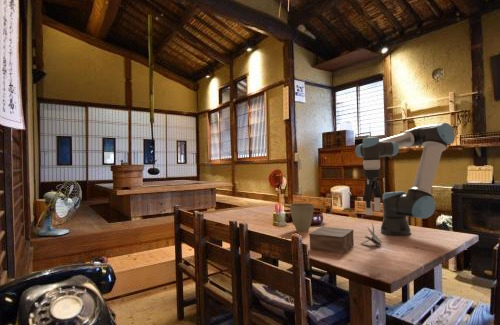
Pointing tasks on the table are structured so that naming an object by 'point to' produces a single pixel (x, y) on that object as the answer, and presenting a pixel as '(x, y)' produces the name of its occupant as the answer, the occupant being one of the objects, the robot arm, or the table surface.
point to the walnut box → (331, 240)
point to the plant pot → (302, 216)
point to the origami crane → (373, 238)
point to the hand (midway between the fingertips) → (373, 212)
